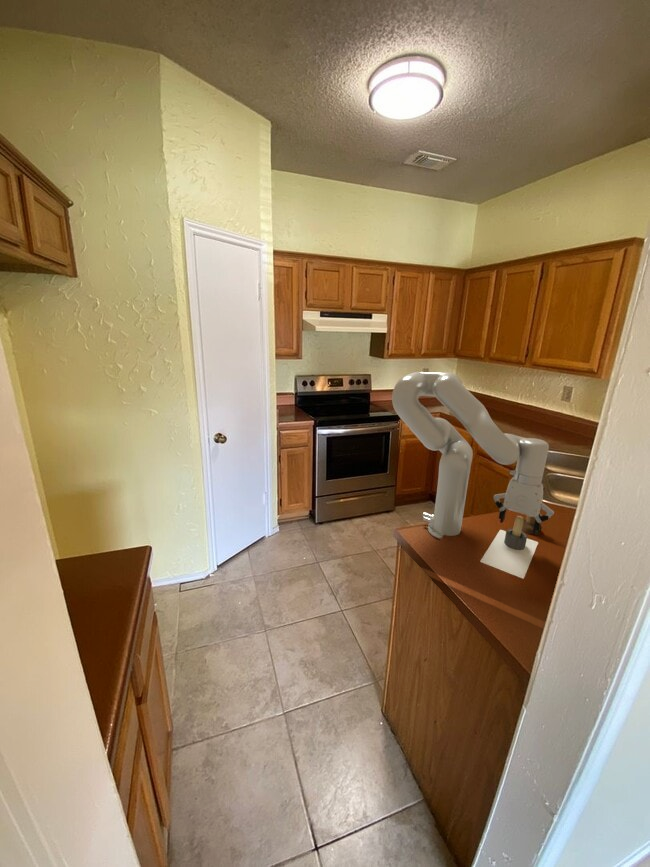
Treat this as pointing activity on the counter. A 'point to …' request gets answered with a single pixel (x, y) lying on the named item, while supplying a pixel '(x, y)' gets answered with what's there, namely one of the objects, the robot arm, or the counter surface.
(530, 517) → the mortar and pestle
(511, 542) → the ring
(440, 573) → the counter surface
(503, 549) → the post board
